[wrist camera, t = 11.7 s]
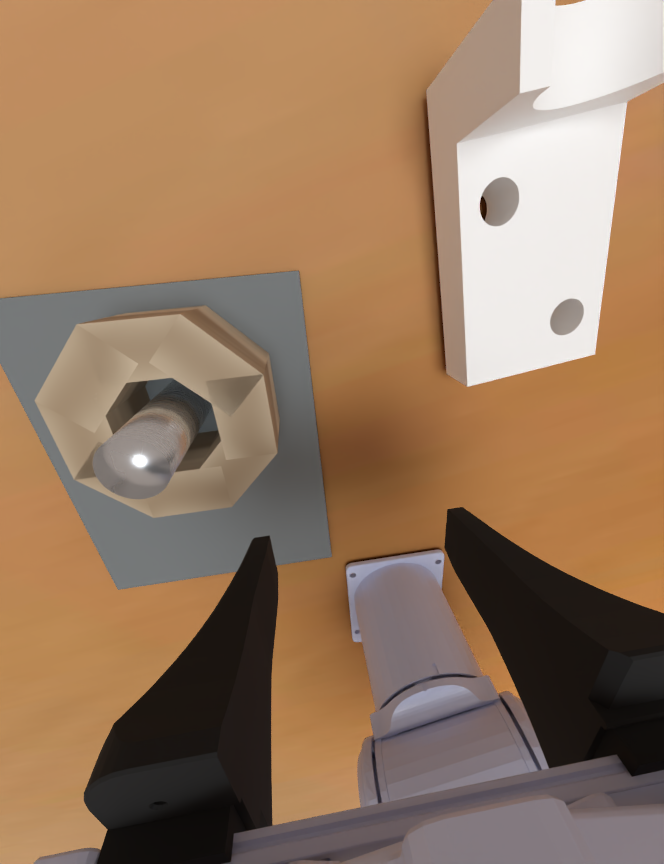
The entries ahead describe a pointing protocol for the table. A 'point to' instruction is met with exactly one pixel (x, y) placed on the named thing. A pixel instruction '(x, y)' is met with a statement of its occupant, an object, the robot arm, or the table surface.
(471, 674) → the robot arm
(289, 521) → the mat
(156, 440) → the peg
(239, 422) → the ring
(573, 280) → the bracket
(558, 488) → the table surface
